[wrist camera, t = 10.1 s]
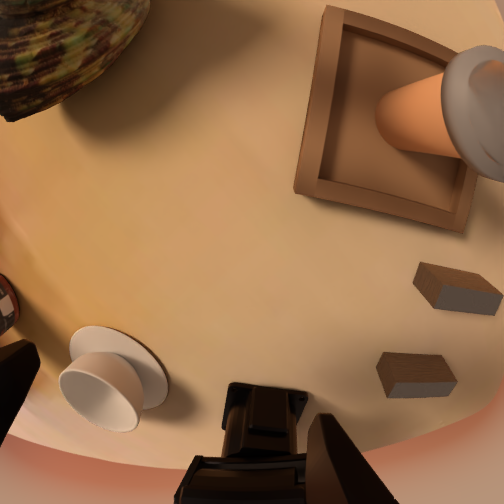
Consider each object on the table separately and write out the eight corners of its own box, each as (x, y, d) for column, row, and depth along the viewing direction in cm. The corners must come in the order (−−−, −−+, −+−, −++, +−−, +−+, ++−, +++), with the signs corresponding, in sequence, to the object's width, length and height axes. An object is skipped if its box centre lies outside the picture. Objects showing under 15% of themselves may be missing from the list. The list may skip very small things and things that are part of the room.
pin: (429, 167, 15) (533, 199, 7) (360, 147, 15) (443, 157, 7) (440, 97, 14) (545, 83, 5) (372, 71, 14) (455, 21, 5)
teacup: (71, 304, 22) (40, 334, 17) (179, 352, 22) (162, 394, 18) (73, 379, 25) (53, 409, 21) (161, 418, 26) (147, 454, 21)
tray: (449, 225, 17) (462, 233, 15) (293, 188, 17) (295, 193, 16) (474, 74, 13) (489, 71, 12) (321, 16, 13) (326, 4, 12)
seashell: (32, 23, 13) (-56, 2, 4) (156, -54, 11) (95, -128, 2) (51, 130, 17) (-61, 143, 7) (194, 52, 15) (116, -23, 5)
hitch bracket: (433, 369, 21) (447, 396, 18) (375, 367, 21) (387, 398, 18) (478, 274, 18) (503, 295, 15) (420, 261, 18) (443, 284, 15)
